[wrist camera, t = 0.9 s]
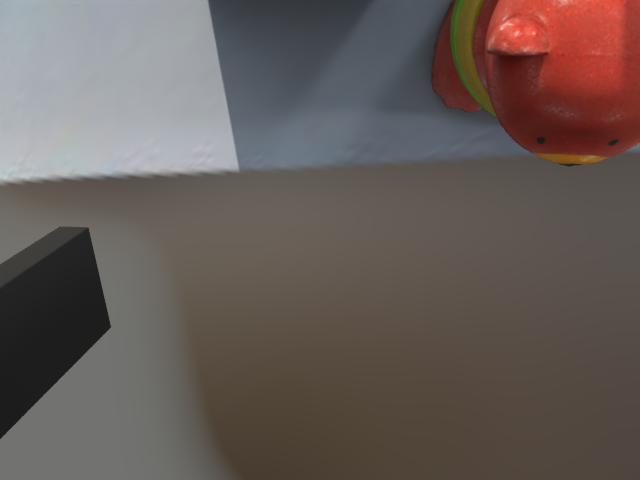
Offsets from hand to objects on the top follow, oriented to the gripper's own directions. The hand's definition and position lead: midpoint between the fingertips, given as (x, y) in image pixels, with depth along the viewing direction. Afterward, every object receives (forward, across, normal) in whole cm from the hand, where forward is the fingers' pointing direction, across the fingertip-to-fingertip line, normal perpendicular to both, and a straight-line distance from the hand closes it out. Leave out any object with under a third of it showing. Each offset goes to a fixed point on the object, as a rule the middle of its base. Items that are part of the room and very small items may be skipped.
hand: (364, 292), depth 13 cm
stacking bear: (+26, +6, +3) cm, 27 cm away
